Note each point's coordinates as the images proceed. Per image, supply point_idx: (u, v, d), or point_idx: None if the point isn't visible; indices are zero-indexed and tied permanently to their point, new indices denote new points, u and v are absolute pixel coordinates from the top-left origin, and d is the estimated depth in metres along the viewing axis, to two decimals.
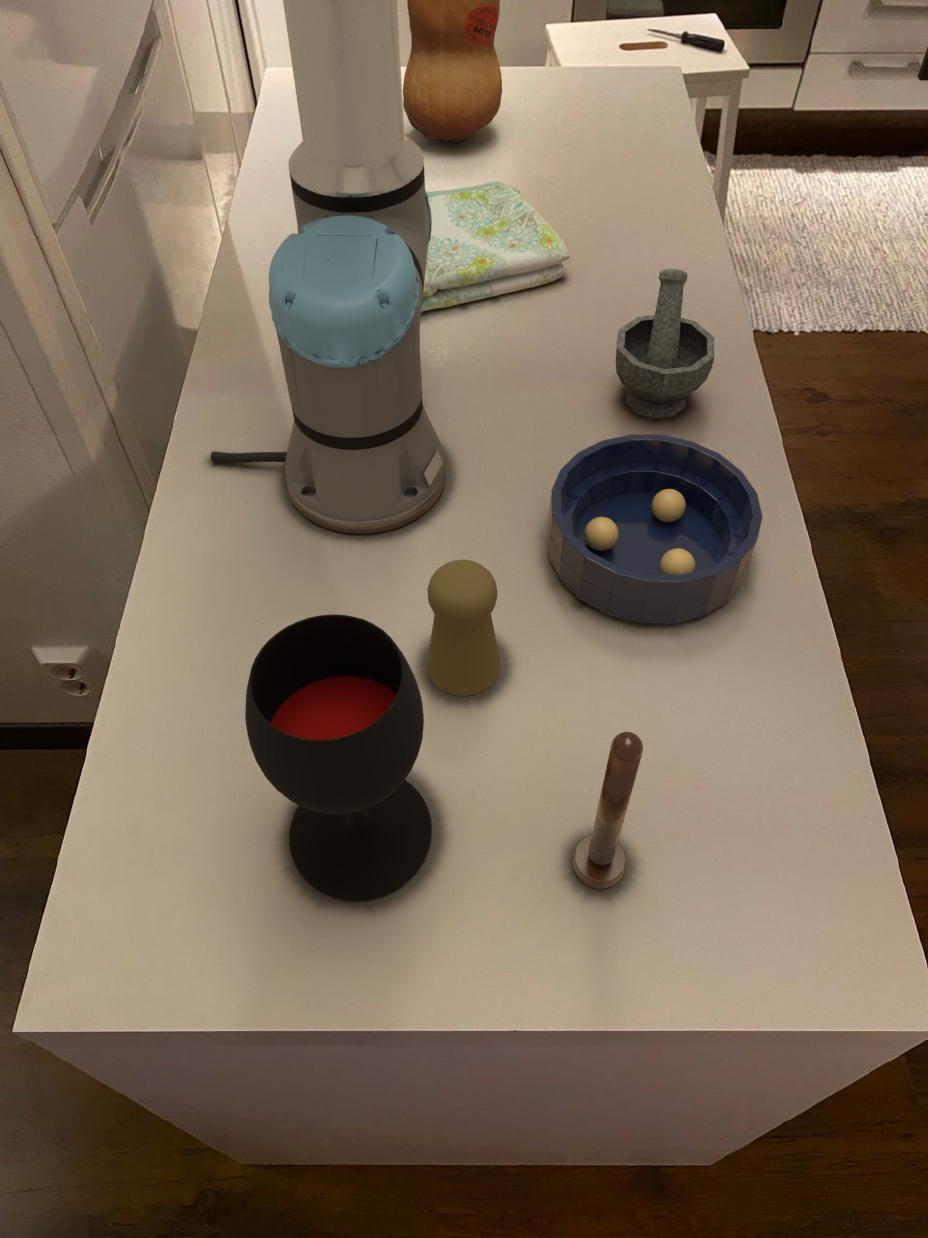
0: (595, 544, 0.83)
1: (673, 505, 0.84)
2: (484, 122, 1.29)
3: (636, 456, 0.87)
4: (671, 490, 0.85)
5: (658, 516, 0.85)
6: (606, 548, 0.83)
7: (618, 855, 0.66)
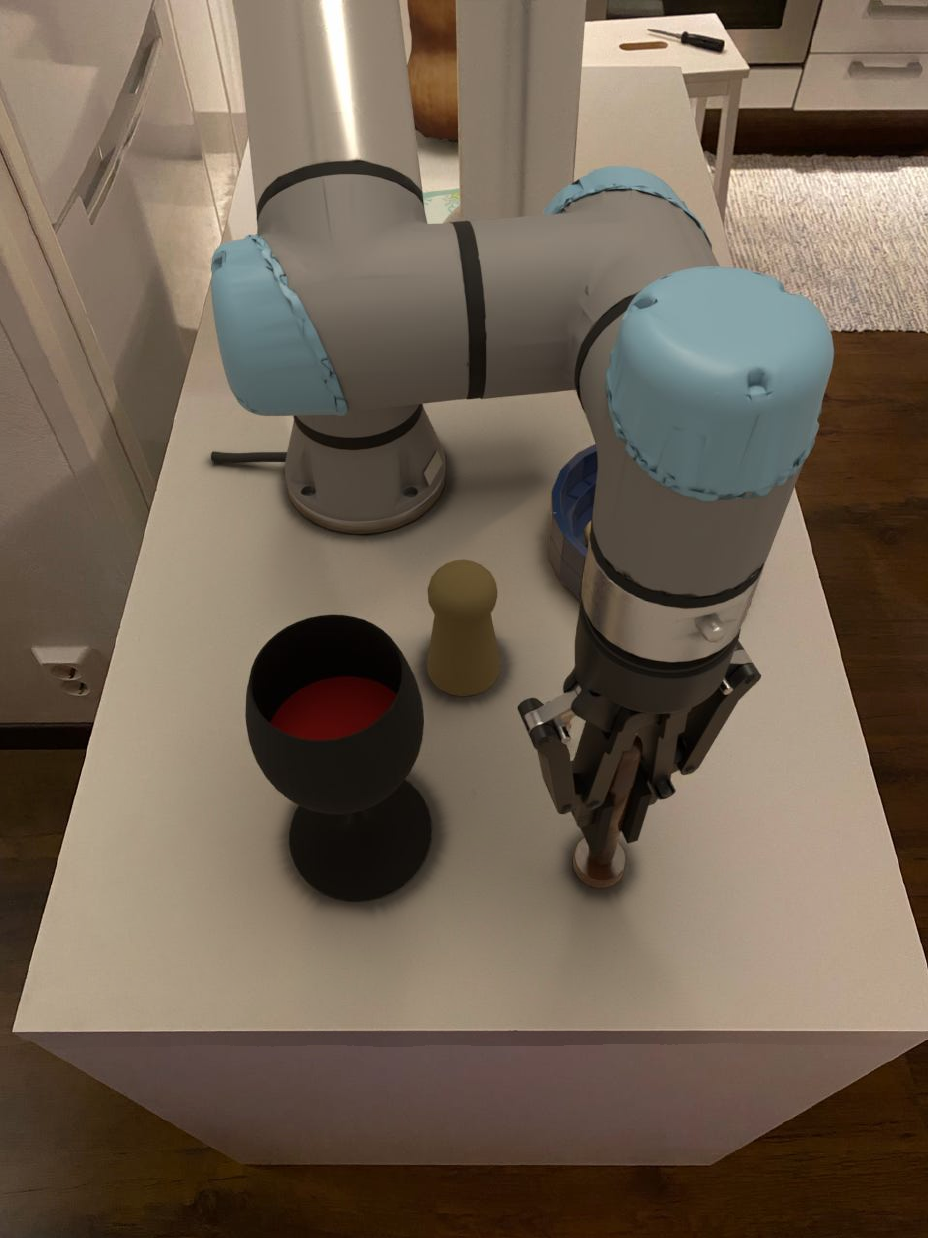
0: None
1: None
2: None
3: None
4: None
5: None
6: None
7: (618, 854, 0.66)
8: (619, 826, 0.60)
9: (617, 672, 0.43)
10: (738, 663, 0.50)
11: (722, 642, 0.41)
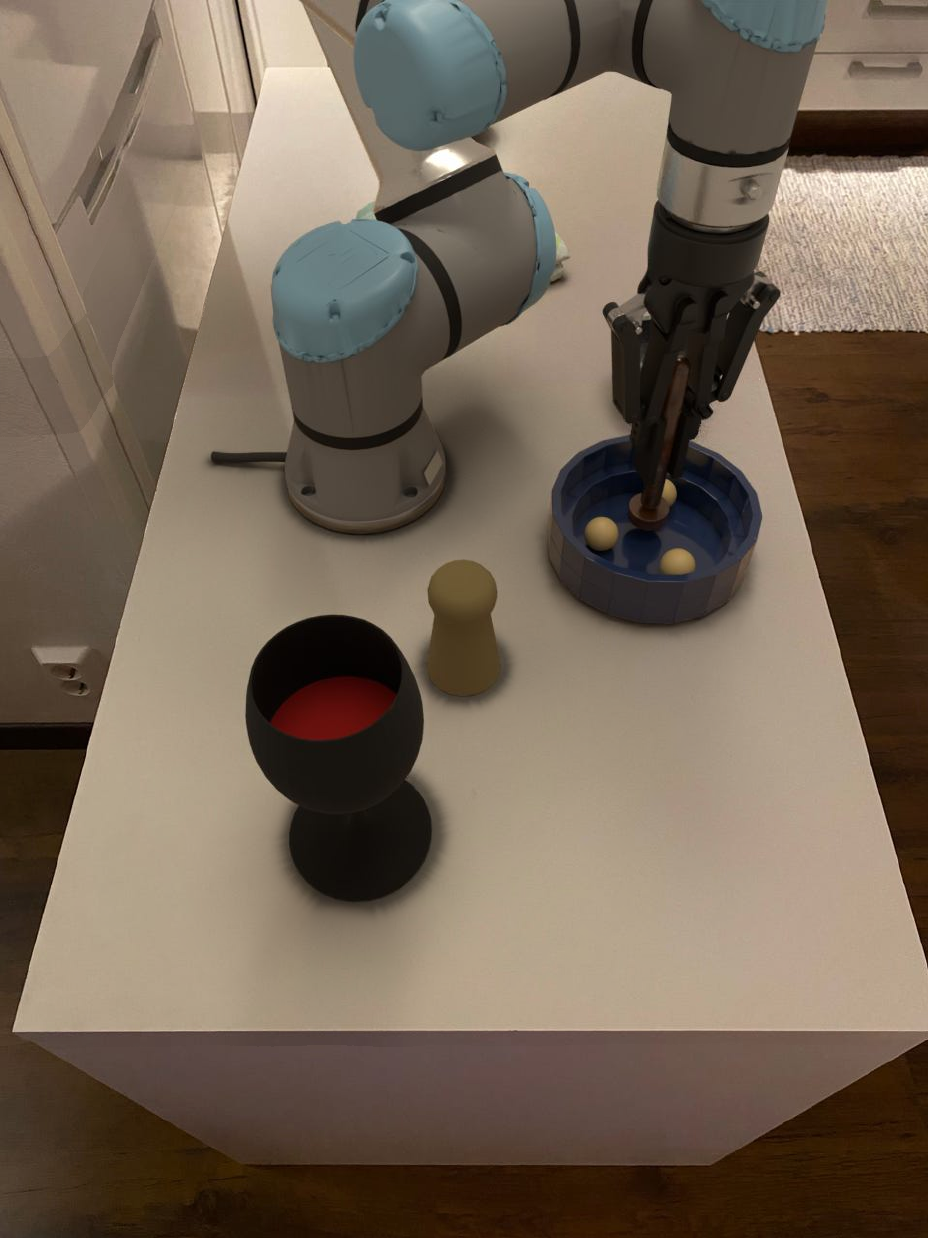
0: (595, 544, 0.83)
1: None
2: None
3: None
4: None
5: None
6: (606, 548, 0.83)
7: (663, 504, 0.84)
8: (668, 459, 0.78)
9: (682, 246, 0.61)
10: (764, 282, 0.68)
11: (758, 212, 0.59)
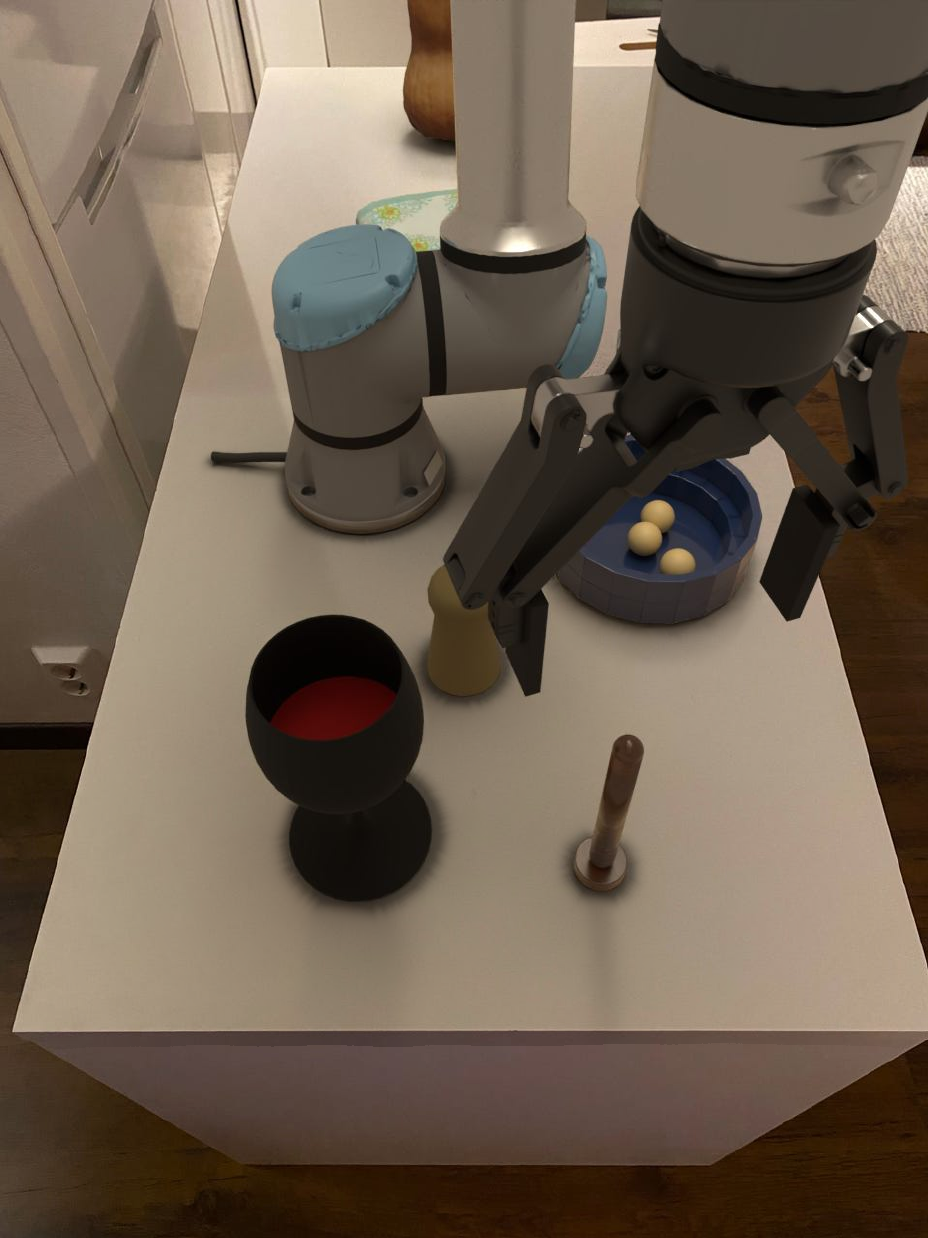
0: (653, 534, 0.82)
1: None
2: None
3: (636, 456, 0.87)
4: (653, 511, 0.83)
5: None
6: (642, 540, 0.82)
7: (619, 857, 0.66)
8: (620, 829, 0.60)
9: (691, 305, 0.28)
10: (863, 330, 0.34)
11: (862, 231, 0.26)
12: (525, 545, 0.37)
